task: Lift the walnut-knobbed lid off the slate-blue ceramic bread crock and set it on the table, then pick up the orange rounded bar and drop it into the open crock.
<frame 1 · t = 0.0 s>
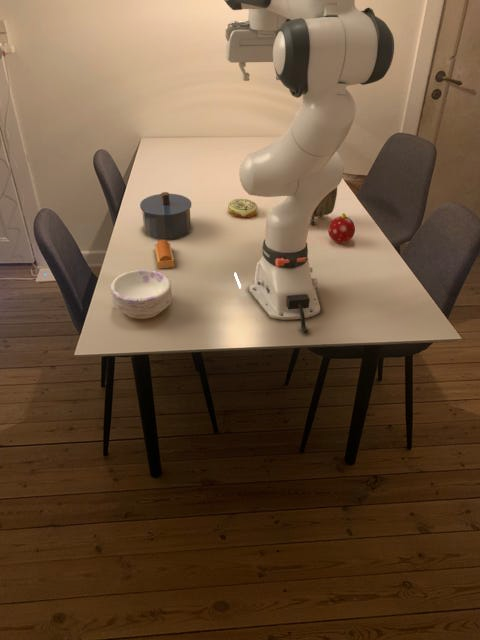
hand: (262, 80, 133), 48 cm above the table, tool pointing down, fingers open, 8 cm apart
christmas ornament: (339, 241, 161), on the table
crock: (167, 228, 165), on the table
crock lid: (165, 205, 160), point 8 cm above the table, touching crock
orange rounded bar: (164, 258, 149), on the table
decorated donut: (242, 213, 177), on the table
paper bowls: (143, 309, 129), on the table
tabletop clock: (310, 223, 172), on the table
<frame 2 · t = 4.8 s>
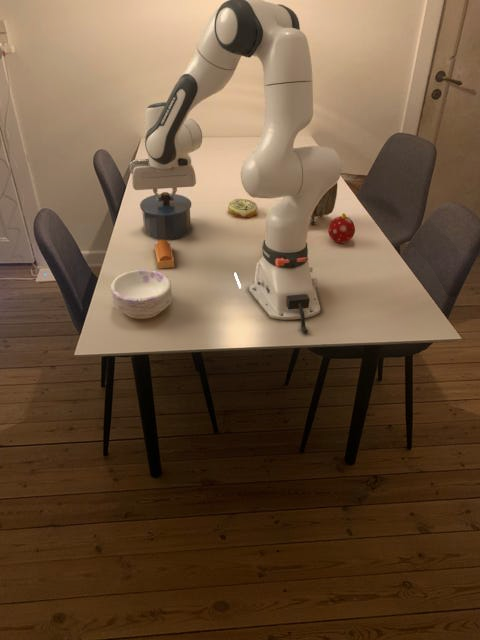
hand: (165, 200, 159), 10 cm above the table, tool pointing down, fingers closed on crock lid, 2 cm apart
crock lid: (165, 205, 160), point 9 cm above the table, touching crock, gripper
everything else where it was.
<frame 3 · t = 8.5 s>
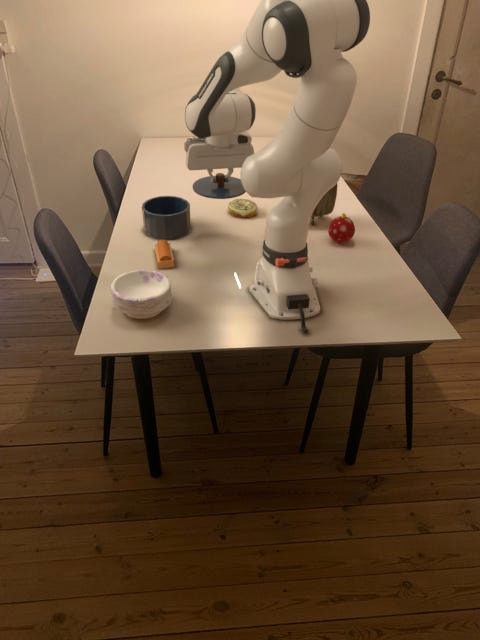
hand: (220, 182, 147), 20 cm above the table, tool pointing down, fingers closed on crock lid, 2 cm apart
crock lid: (220, 187, 148), point 18 cm above the table, touching gripper
everything else where it was.
when the fingers open (2 cm above the table, at t = 12.5 s): crock lid stays where it is, point 1 cm above the table.
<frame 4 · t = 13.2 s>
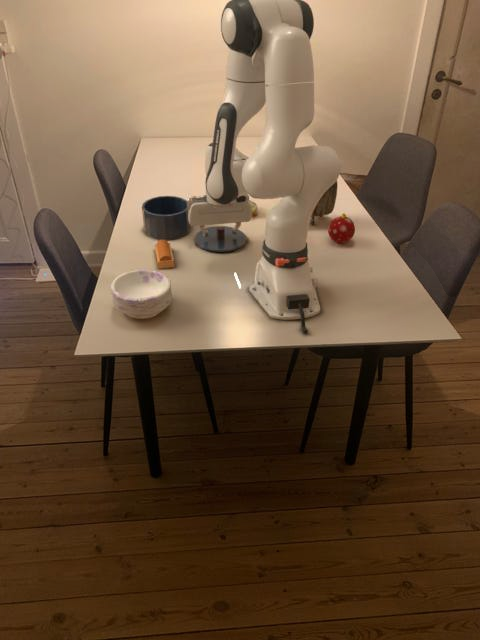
hand: (220, 235, 158), 2 cm above the table, tool pointing down, fingers open, 8 cm apart
crock lid: (220, 239, 159), point 1 cm above the table
everything else where it was.
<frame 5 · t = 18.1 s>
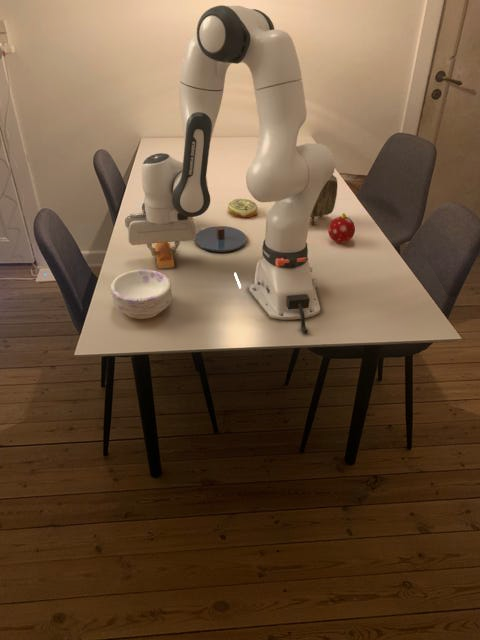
hand: (164, 253, 148), 2 cm above the table, tool pointing down, fingers closed on orange rounded bar, 5 cm apart
orange rounded bar: (164, 258, 149), on the table, touching gripper
everything else where it was.
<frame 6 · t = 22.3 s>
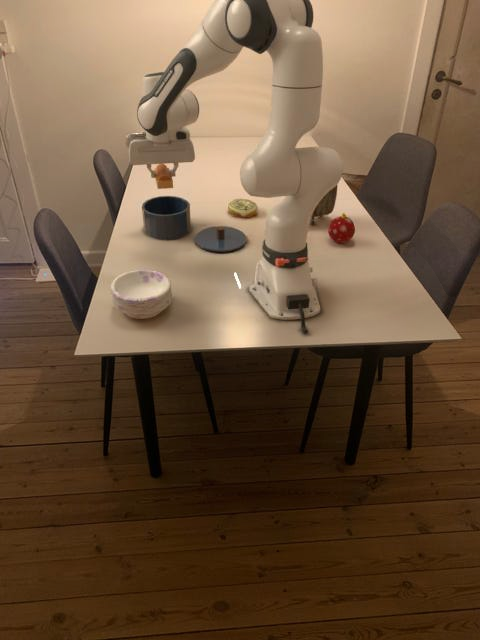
hand: (163, 176, 154), 18 cm above the table, tool pointing down, fingers closed on orange rounded bar, 5 cm apart
orange rounded bar: (163, 181, 155), point 17 cm above the table, touching gripper
everything else where it was.
when the fingers open (2 cm above the table, at t = 26.4 s): orange rounded bar stays where it is, resting on crock.
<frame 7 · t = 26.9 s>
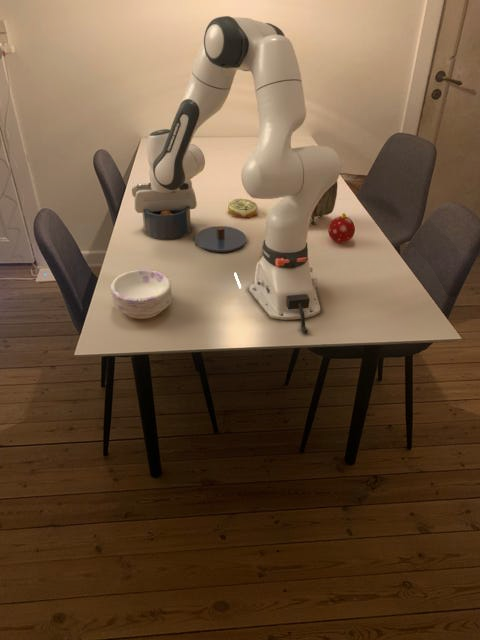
hand: (167, 222, 164), 3 cm above the table, tool pointing down, fingers open, 8 cm apart
orange rounded bar: (167, 227, 165), resting on crock
everything else where it was.
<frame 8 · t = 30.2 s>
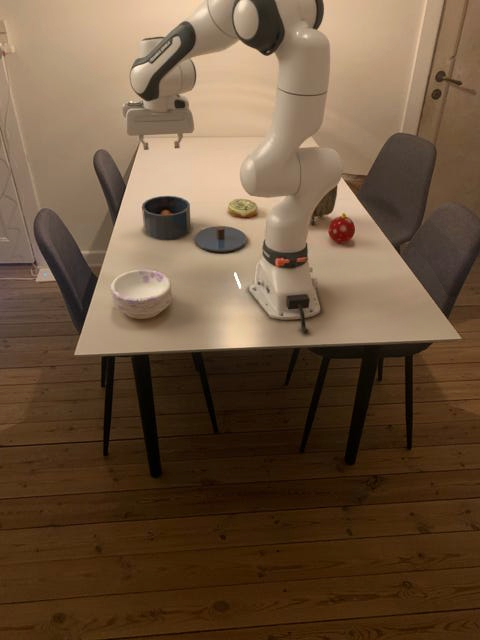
hand: (161, 148, 149), 27 cm above the table, tool pointing down, fingers open, 8 cm apart
nothing on the table moved.
at the end: crock lid inside the target area (0.4 cm from its centre), point 0.6 cm above the table; orange rounded bar inside the target area in the crock (0.1 cm from its centre), point 0.5 cm above the crock's base; orange rounded bar tilted 0° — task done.
